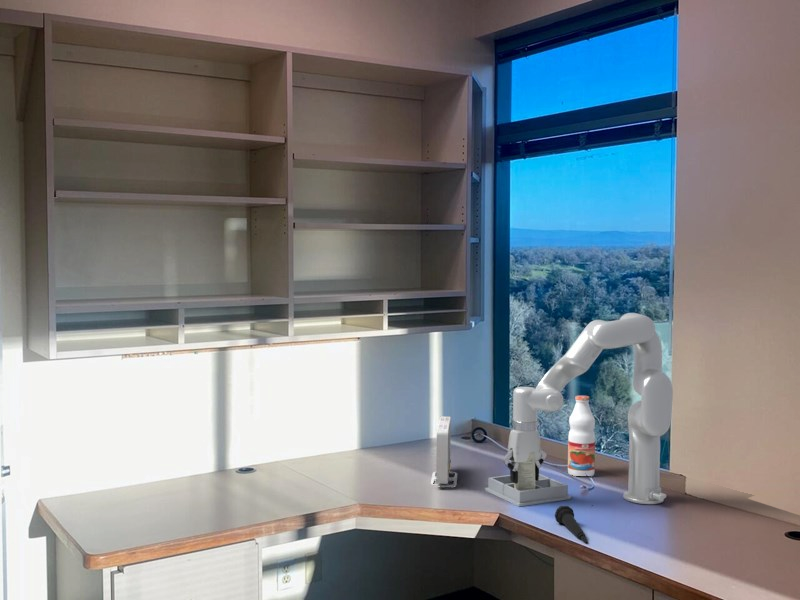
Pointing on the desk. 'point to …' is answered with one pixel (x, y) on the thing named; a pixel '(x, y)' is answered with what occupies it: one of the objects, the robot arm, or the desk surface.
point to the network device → (443, 454)
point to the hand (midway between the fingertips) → (524, 480)
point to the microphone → (569, 522)
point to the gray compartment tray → (528, 491)
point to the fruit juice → (581, 439)
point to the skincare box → (526, 474)
